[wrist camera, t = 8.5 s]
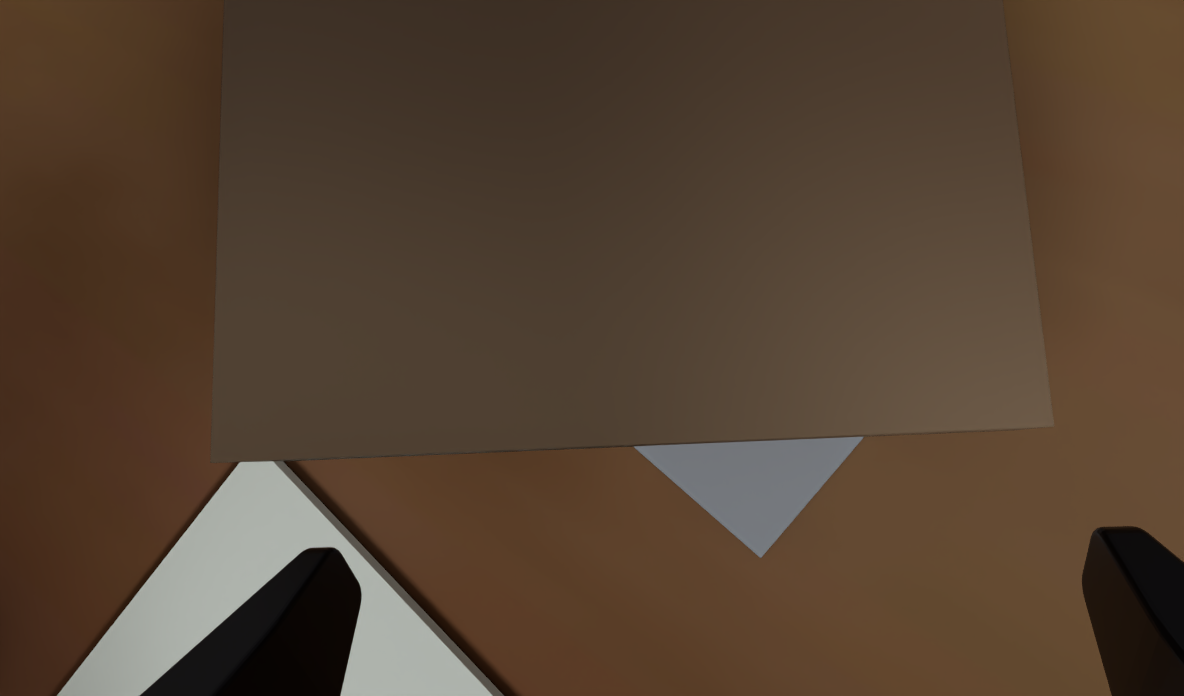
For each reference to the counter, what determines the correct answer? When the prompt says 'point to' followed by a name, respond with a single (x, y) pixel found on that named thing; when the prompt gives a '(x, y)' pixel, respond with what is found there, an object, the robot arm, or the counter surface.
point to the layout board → (387, 613)
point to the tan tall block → (617, 226)
